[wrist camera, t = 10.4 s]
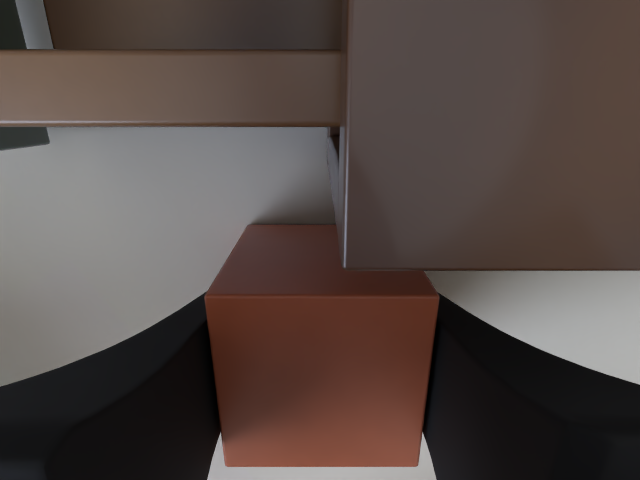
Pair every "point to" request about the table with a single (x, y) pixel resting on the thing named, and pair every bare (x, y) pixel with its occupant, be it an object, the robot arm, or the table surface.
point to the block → (318, 354)
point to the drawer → (171, 66)
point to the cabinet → (488, 136)
